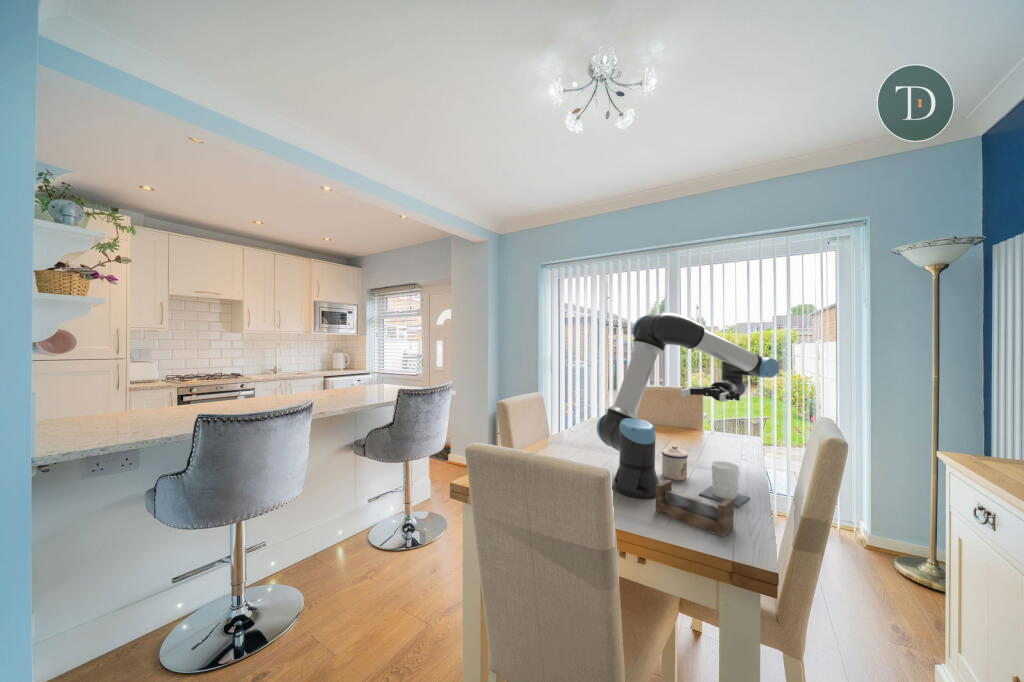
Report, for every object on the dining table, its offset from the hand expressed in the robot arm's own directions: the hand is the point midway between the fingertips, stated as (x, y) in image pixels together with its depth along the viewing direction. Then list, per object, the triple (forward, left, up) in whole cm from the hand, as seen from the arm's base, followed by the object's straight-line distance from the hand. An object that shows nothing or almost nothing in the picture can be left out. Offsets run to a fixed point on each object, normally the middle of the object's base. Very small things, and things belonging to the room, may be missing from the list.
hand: (700, 395), depth 134 cm
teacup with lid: (-10, +2, -32) cm, 34 cm away
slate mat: (+10, -5, -32) cm, 34 cm away
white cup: (+10, -5, -32) cm, 34 cm away
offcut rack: (+10, -29, -32) cm, 44 cm away
